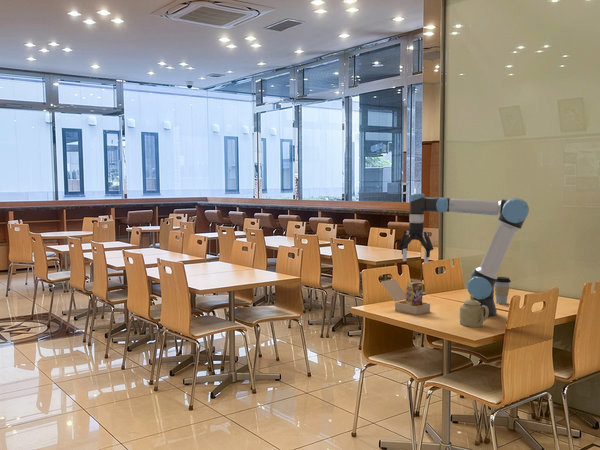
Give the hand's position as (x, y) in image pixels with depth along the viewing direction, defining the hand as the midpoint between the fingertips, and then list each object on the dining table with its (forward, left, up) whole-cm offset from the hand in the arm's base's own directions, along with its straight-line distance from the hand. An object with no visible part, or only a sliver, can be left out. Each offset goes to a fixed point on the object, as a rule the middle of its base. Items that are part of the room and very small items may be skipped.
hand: (415, 262), depth 303 cm
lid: (+12, 0, -17) cm, 21 cm away
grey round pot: (-37, +3, -27) cm, 46 cm away
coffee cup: (-20, -61, -27) cm, 70 cm away
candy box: (0, 0, -26) cm, 26 cm away
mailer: (+1, 0, -27) cm, 27 cm away
